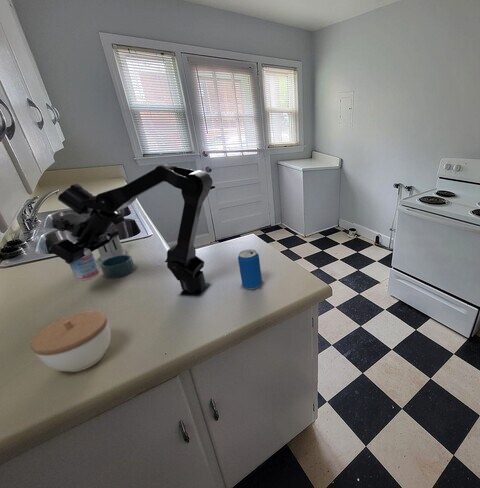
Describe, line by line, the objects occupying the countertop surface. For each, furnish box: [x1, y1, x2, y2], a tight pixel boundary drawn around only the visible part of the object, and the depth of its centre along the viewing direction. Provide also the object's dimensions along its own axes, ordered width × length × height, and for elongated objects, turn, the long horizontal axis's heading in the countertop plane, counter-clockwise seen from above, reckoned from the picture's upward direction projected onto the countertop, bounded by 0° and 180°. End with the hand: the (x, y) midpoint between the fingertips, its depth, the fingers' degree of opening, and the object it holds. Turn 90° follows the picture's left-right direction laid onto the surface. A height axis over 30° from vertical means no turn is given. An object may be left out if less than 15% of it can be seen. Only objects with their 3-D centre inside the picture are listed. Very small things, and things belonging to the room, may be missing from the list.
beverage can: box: [237, 248, 263, 290], centre depth 88 cm, size 6×6×12 cm
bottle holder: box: [99, 254, 136, 279], centre depth 100 cm, size 9×9×4 cm
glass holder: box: [97, 223, 127, 262], centre depth 108 cm, size 9×14×15 cm, turn 43°
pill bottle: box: [68, 241, 101, 282], centre depth 84 cm, size 6×6×11 cm
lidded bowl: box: [29, 310, 112, 373], centre depth 61 cm, size 13×13×11 cm
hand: (76, 258), depth 84 cm, fingers closed on pill bottle, 6 cm apart
